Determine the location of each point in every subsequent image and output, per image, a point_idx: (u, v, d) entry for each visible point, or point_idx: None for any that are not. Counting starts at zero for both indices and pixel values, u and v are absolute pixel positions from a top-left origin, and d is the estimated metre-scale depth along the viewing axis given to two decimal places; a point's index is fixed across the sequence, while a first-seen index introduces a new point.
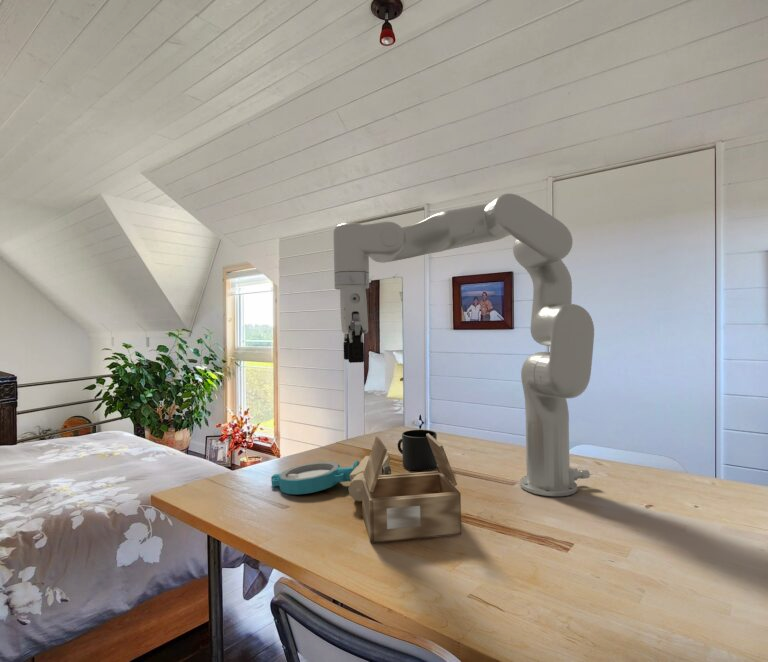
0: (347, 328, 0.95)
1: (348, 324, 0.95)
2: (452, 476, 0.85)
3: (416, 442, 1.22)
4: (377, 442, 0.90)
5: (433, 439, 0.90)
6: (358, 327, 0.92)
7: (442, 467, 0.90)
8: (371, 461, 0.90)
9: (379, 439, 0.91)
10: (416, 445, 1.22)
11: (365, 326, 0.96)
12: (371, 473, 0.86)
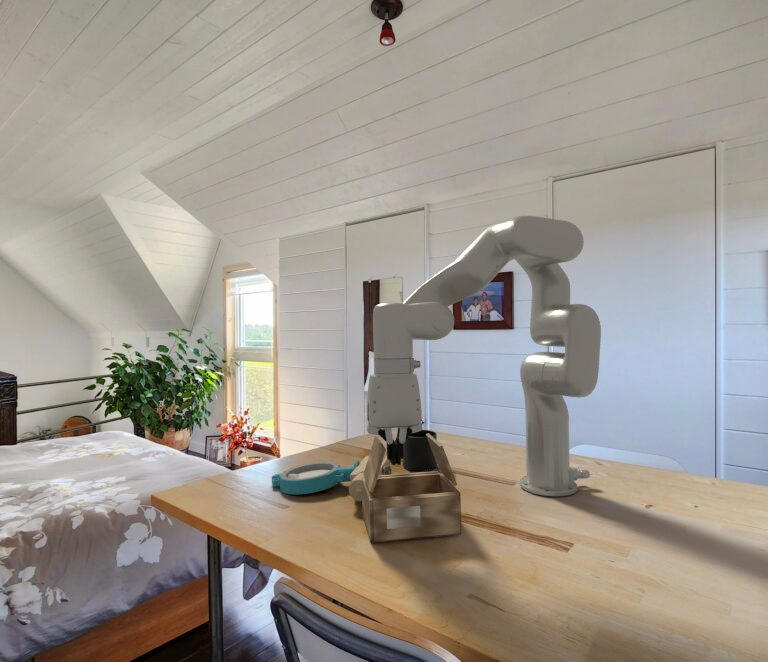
0: (420, 420, 0.88)
1: (412, 426, 0.88)
2: (452, 476, 0.85)
3: (416, 442, 1.22)
4: (376, 442, 0.90)
5: (433, 439, 0.90)
6: None
7: (442, 467, 0.90)
8: (371, 461, 0.89)
9: (378, 439, 0.91)
10: (416, 445, 1.22)
11: None
12: (371, 473, 0.86)
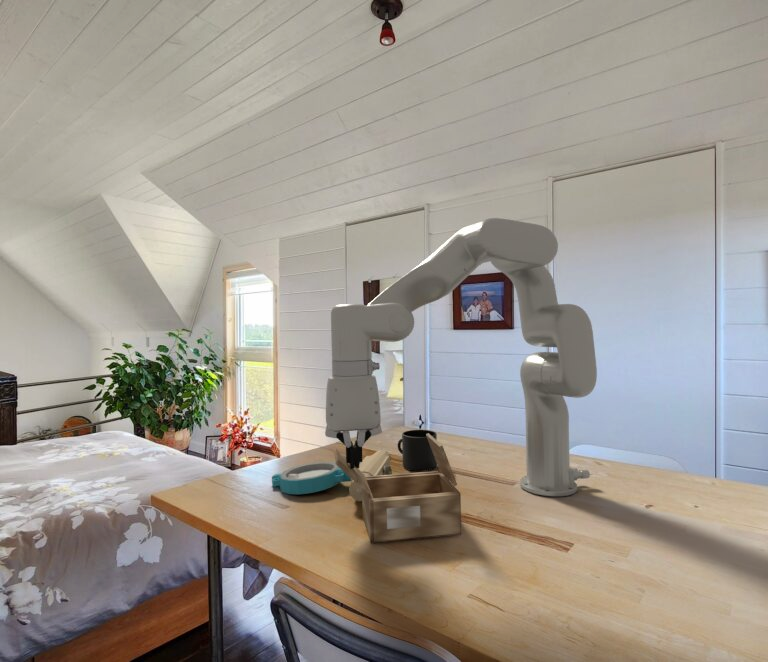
0: (379, 423, 0.86)
1: (371, 429, 0.86)
2: (452, 476, 0.85)
3: (416, 442, 1.22)
4: None
5: (433, 439, 0.90)
6: None
7: (442, 467, 0.90)
8: None
9: (335, 451, 0.90)
10: (416, 445, 1.22)
11: None
12: None
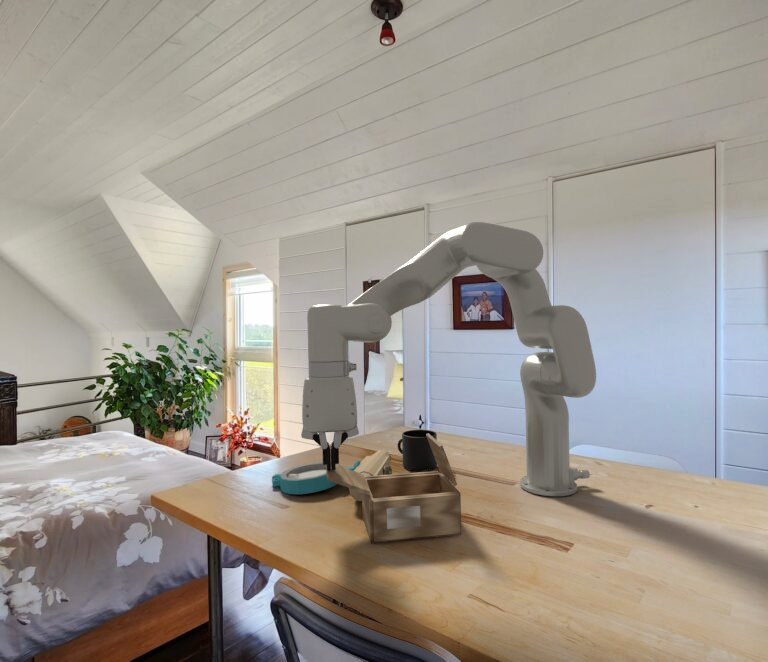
0: (356, 424, 0.86)
1: (348, 430, 0.86)
2: (452, 476, 0.85)
3: (416, 442, 1.22)
4: None
5: (433, 439, 0.90)
6: None
7: (442, 467, 0.90)
8: None
9: None
10: (416, 445, 1.22)
11: None
12: None
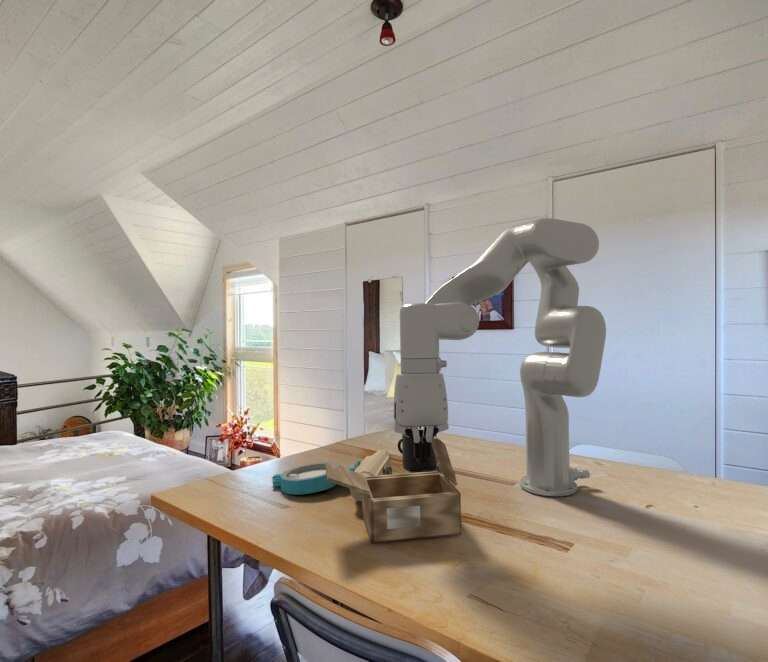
0: (447, 419, 0.89)
1: (439, 425, 0.88)
2: (453, 476, 0.85)
3: None
4: None
5: (436, 438, 0.90)
6: None
7: (443, 467, 0.90)
8: None
9: (326, 465, 0.89)
10: None
11: None
12: None
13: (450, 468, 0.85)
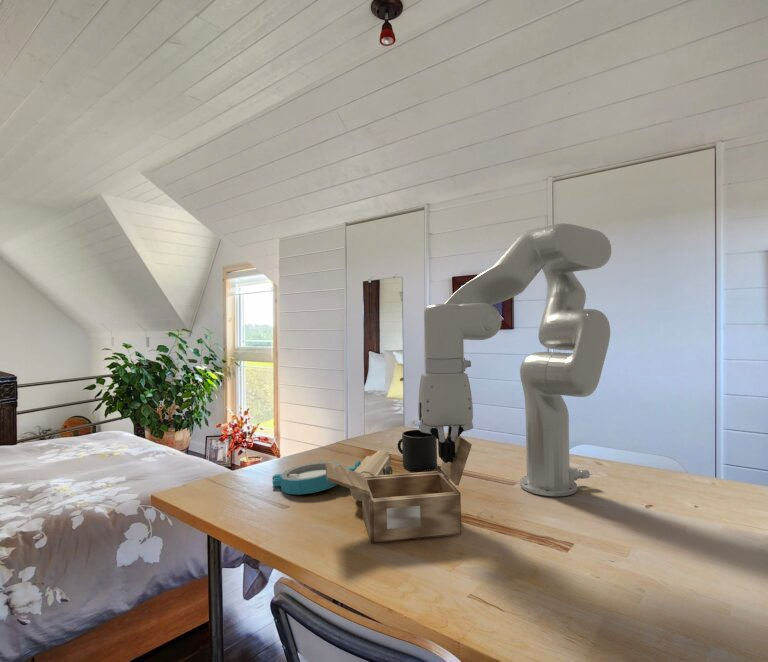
0: (472, 418, 0.89)
1: None
2: (460, 475, 0.85)
3: (416, 442, 1.22)
4: None
5: (461, 437, 0.91)
6: None
7: (450, 465, 0.91)
8: None
9: (326, 465, 0.89)
10: (416, 445, 1.22)
11: None
12: None
13: (462, 467, 0.86)
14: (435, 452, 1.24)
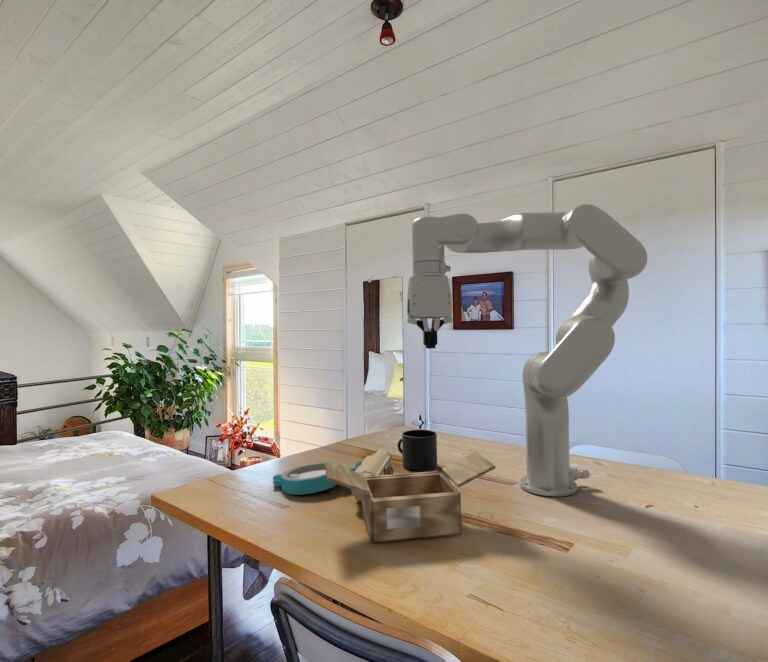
0: (451, 312, 1.08)
1: (444, 317, 1.08)
2: (466, 481, 0.86)
3: (416, 442, 1.22)
4: None
5: None
6: None
7: (458, 471, 0.91)
8: None
9: (326, 465, 0.89)
10: (416, 445, 1.22)
11: None
12: None
13: (473, 477, 0.86)
14: (435, 452, 1.24)
